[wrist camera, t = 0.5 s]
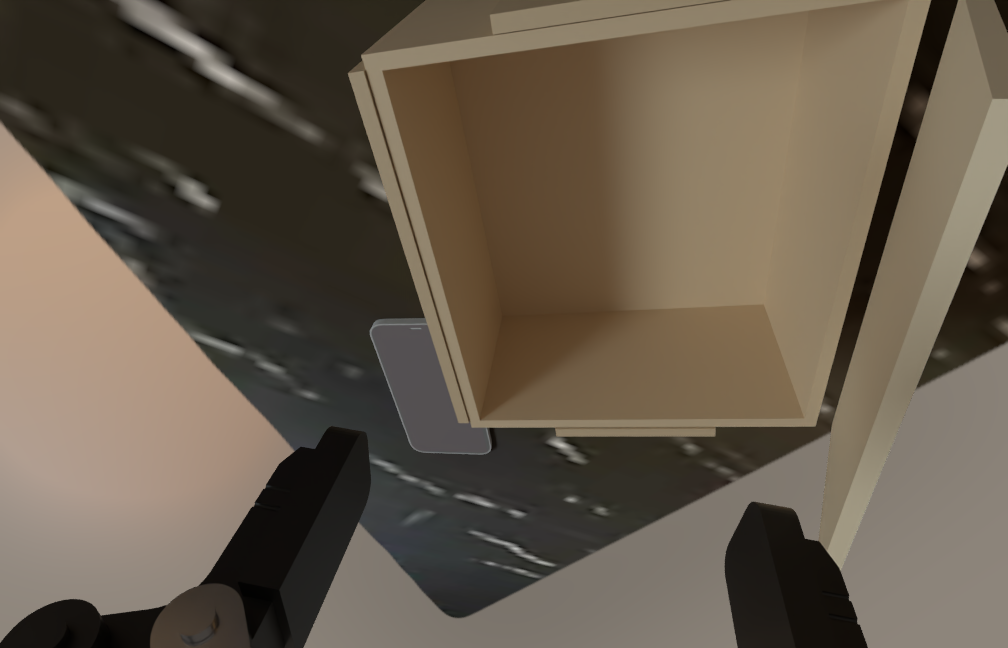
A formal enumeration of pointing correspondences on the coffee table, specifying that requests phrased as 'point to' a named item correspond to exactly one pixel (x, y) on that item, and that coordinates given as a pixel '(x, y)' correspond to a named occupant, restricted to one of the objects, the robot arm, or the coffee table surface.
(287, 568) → the robot arm
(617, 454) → the coffee table surface
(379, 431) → the coffee table surface
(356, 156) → the coffee table surface
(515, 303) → the carton
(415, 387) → the smartphone
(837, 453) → the flap
